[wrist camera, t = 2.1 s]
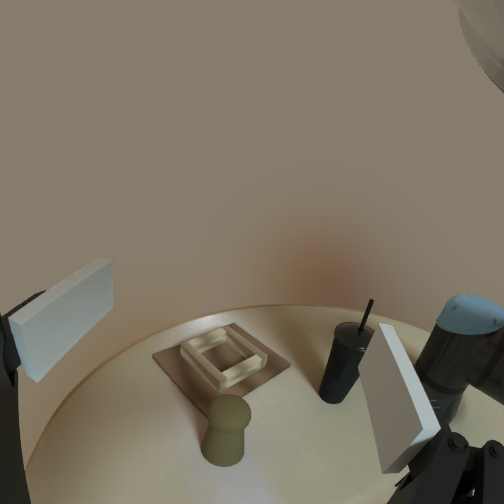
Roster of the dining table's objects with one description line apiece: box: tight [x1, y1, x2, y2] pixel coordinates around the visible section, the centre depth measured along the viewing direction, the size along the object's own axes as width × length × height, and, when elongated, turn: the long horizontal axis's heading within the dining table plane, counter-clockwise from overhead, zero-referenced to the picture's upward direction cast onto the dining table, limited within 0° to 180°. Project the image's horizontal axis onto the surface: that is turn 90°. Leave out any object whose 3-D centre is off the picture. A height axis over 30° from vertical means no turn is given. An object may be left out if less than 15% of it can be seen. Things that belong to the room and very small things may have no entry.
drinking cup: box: [319, 299, 375, 404], centre depth 44 cm, size 8×8×20 cm
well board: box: [153, 323, 291, 417], centre depth 51 cm, size 20×16×4 cm
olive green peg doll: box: [201, 394, 251, 467], centre depth 32 cm, size 6×6×11 cm
